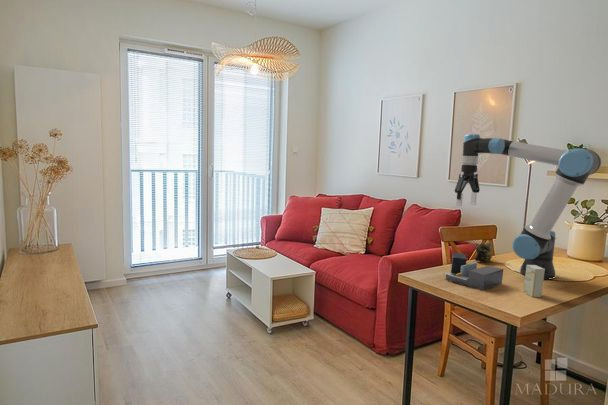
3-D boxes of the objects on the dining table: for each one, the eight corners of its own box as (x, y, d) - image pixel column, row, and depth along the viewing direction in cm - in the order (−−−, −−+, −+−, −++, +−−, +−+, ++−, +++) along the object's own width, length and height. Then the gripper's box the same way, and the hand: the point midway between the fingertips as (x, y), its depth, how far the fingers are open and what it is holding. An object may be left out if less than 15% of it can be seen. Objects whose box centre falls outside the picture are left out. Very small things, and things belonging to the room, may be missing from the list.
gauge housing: (501, 284, 185) (503, 269, 184) (481, 291, 174) (482, 275, 173) (465, 274, 199) (466, 260, 198) (443, 280, 188) (444, 265, 187)
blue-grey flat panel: (475, 276, 192) (476, 262, 191) (457, 281, 182) (458, 267, 182) (473, 275, 193) (474, 262, 192) (455, 281, 183) (456, 267, 182)
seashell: (466, 258, 230) (468, 241, 229) (485, 258, 232) (487, 241, 230) (476, 263, 220) (478, 245, 219) (496, 263, 221) (498, 245, 220)
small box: (465, 280, 188) (467, 258, 187) (450, 279, 190) (452, 257, 189) (464, 274, 198) (466, 253, 197) (450, 273, 200) (452, 252, 199)
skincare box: (522, 292, 175) (525, 264, 173) (532, 292, 175) (535, 264, 173) (532, 297, 168) (535, 268, 167) (542, 297, 169) (545, 268, 167)
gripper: (475, 164, 222) (472, 203, 224) (449, 163, 207) (446, 205, 209) (488, 165, 216) (485, 204, 219) (463, 164, 201) (459, 207, 203)
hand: (466, 205), depth 214 cm, fingers open, 13 cm apart
